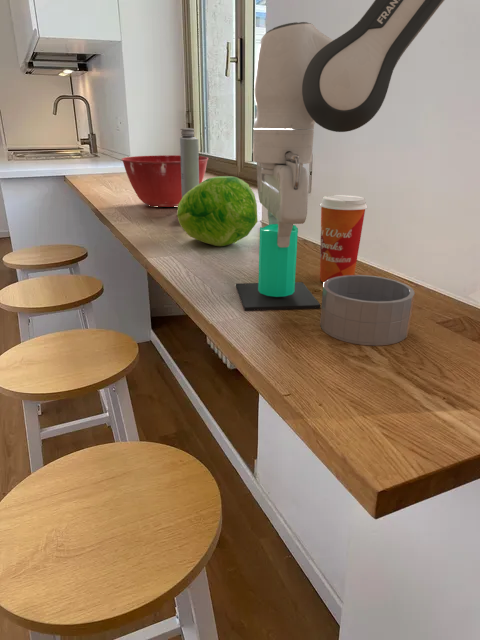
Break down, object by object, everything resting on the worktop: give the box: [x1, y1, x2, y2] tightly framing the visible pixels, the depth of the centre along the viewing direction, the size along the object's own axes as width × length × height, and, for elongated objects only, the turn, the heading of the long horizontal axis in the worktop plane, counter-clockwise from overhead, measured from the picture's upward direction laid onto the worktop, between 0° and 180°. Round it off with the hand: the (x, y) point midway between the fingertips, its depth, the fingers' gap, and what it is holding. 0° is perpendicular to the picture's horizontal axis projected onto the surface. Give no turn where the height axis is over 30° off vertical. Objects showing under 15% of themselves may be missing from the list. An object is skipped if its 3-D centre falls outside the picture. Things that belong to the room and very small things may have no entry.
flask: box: [179, 127, 200, 198], centre depth 138 cm, size 17×5×25 cm, turn 7°
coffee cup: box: [319, 194, 368, 284], centre depth 88 cm, size 8×8×15 cm
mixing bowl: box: [120, 154, 209, 207], centre depth 165 cm, size 28×28×15 cm
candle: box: [257, 224, 299, 297], centre depth 79 cm, size 6×6×12 cm
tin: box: [319, 274, 416, 347], centre depth 69 cm, size 12×12×6 cm
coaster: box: [235, 281, 322, 312], centre depth 82 cm, size 12×12×1 cm
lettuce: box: [176, 175, 258, 247], centre depth 114 cm, size 17×20×17 cm
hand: (278, 241), depth 79 cm, fingers closed on candle, 5 cm apart
